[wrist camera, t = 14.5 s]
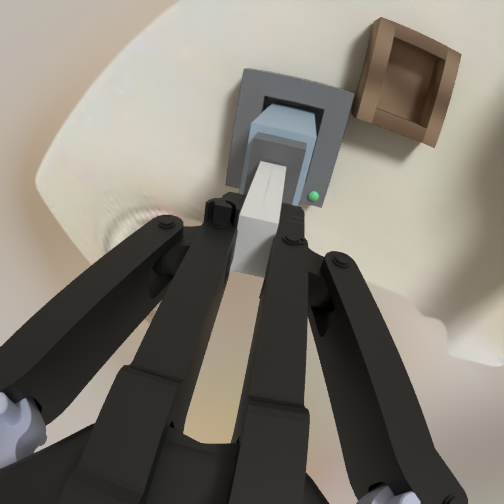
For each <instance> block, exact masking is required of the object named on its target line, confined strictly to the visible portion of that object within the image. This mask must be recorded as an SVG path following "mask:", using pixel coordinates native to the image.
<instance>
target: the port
mask: <svg viewBox="0 0 504 504" xmlns="http://www.w3.org/2000/svg"><path fill="white" fill-rule="evenodd" d="M353 98H354V93H352V92H350V91H347V90H344V89H340V88H337V87H333V86H330V85H326V84H322V83H318V82H314V81H310V80H306V79H302V78H297V77H293V76H288V75H283V74H278V73H273V72H268V71H262V70H256V69H250V68H247V69H244V71H243V77H242V83H241V88H240V94H239V100H238V106H237V112H236V118H235V124H234V131H233V137H232V144H231V150H230V157H229V163H228V170H227V177H226V184H225V185H226V186H231V187H236V188H240V186H241V180H242V174H243V168H244V162H245V157H246V151H247V145H248V139H249V134H250V128H251V123H252V122H253V121H254V120H255V119H256V118H257V117H258V116H259V115H260V114H261V113H262V112H263V111H264V110H266V109H267V108H268V107H269V106H270V105H271V104H272V103H273V102H277V103H282V104H287V105H291V106H295V107H300V108H304V109H308V110H312V111H314V115H315V125H316V137H317V138H316V142H315V146H314V150H313V153H312V157H311V161H310V165H309V169H308V172H307V176H306V180H305V183H304V187H303V191H302V194H301V198H300V202H301V203H305V204H309V205H313V206H317V207H321V208H322V205H323V202H324V199H325V195H326V192H327V189H328V186H329V182H330V179H331V176H332V173H333V169H334V166H335V162H336V159H337V156H338V152H339V149H340V145H341V142H342V138H343V135H344V131H345V128H346V124H347V120H348V117H349V113H350V109H351V105H352V102H353Z"/></svg>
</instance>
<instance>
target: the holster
mask: <svg viewBox="0 0 504 504" xmlns="http://www.w3.org/2000/svg"><path fill="white" fill-rule="evenodd" d="M460 59H461V54H460V53H458V52H456V51H455V50H453V49H451V48H449V47H447V46H445V45H443V44H442V43H440V42H438V41H436V40H434V39H432V38H429V37H427V36H425V35H423V34H421V33H419V32H417V31H414V30H412V29H410V28H407V27H405V26H403V25H400V24H398V23H395V22H393V21H390V20H388V19H385V18H382V17H380V18H379V19H377V20H375V21H374V23H373V27H372V32H371V37H370V41H369V46H368V50H367V54H366V58H365V63H364V67H363V71H362V75H361V79H360V83H359V87H358V91H357V95H356V99H355V102H354V106H353V110H352V115H353V116H354V117H355V118H356V119H359V120H362V121H365V122H368V123H371V124H374V125H377V126H380V127H383V128H385V129H388V130H391V131H394V132H396V133H399V134H402V135H404V136H407V137H409V138H412V139H414V140H417V141H419V142H422V143H424V144H426V145H429V146H431V147H433V148H435V146H436V143H437V140H438V137H439V134H440V131H441V128H442V125H443V122H444V119H445V116H446V112H447V109H448V106H449V102H450V99H451V95H452V91H453V88H454V84H455V80H456V76H457V72H458V68H459V63H460Z"/></svg>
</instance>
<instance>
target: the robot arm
mask: <svg viewBox="0 0 504 504" xmlns="http://www.w3.org/2000/svg"><path fill="white" fill-rule="evenodd" d="M285 174H286V167H285V166H281V165H277V164H272V163H267V162H263V161H260V164H259V166H258V169H257V171H256V174H255V176H254V179H253V181H252V184H251V186H250V189H249V192H248V194H247V195H243V194H238V193H233V192H228V193H227V194H225V195H223V197H222V198H213V199H210V200H208V201H207V202H206V206H205V216H204V222H203V224H202V225H201V226H194V227H184V226H183V221H182V220H181V219H180V218H178V217H176V216H173V215H161V216H157V217H155V218H153V219H152V220H150V221H149V222H148V223H146V224H145V225H144V226H142V227H141V228H140V229H138V230H137V231H135V232H134V233H133V234H131V235H130V236H129V237H127V238H126V239H125V240H123V241H122V242H121V243H120V244H118V245H117V246H116V247H114V248H113V249H112V250H110V251H109V252H108V253H107V254H105V255H104V256H103V257H102V258H100V259H99V260H98V261H96V262H95V263H94V264H93V265H91V266H90V267H89V268H88V269H87V270H85V271H84V272H83V273H82V274H80V275H79V276H78V277H77V278H76V279H75V280H73V281H72V282H71V283H70V284H69V285H67V286H66V287H65V288H64V289H63V290H61V291H60V292H59V293H58V294H57V295H56V296H55V297H54V298H52V299H51V300H50V301H49V302H48V303H47V304H46V305H45V306H44V307H42V308H41V309H40V310H39V311H38V312H37V313H36V314H34V316H32V317H31V318H30V319H29V320H28V321H27V322H26V323H25V324H24V325H23V326H22V327H21V328H20V329H19V330H17V331H16V332H15V333H14V334H13V336H11V337H10V338H9V339H8V340H7V341H6V342H5V343H4V344H3V345H2V346H1V347H0V504H329V502H328V501H327V500H326V498H325V497H324V495H323V494H322V493H321V491H320V490H319V489H318V487H317V485H316V484H315V483H314V481H313V480H312V479H311V477H310V476H309V475H308V474H307V473H306V463H307V451H308V438H309V424H310V419H309V418H310V415H309V411H308V409H307V408H305V406H304V389H305V372H306V350H307V319H309V322H310V326H311V330H312V333H313V337H314V340H315V344H316V348H317V352H318V355H319V359H320V363H321V367H322V371H323V375H324V378H325V382H326V386H327V390H328V394H329V398H330V402H331V406H332V410H333V414H334V419H335V423H336V427H337V431H338V435H339V439H340V444H341V448H342V453H343V457H344V461H345V466H346V470H347V474H348V477H349V481H350V484H351V486H352V489H353V491H354V493H355V496H356V497H357V499H358V502H357V503H356V504H468V498H467V495H466V493H465V491H464V490H463V488H462V487H461V485H460V484H459V483H458V481H457V479H456V478H455V477H454V475H453V474H452V472H451V471H450V469H449V468H448V466H447V465H446V464H445V462H444V461H443V459H442V458H441V456H439V454H438V452H437V451H436V449H435V448H434V444H433V441H432V438H431V435H430V432H429V429H428V427H427V424H426V421H425V418H424V415H423V413H422V410H421V407H420V405H419V402H418V399H417V396H416V394H415V391H414V389H413V386H412V384H411V381H410V379H409V376H408V374H407V371H406V369H405V367H404V364H403V362H402V359H401V357H400V355H399V352H398V350H397V348H396V346H395V344H394V341H393V339H392V337H391V335H390V332H389V330H388V328H387V325H386V323H385V321H384V319H383V317H382V315H381V313H380V310H379V308H378V307H377V304H376V302H375V300H374V299H373V296H372V294H371V292H370V290H369V288H368V286H367V284H366V282H365V280H364V278H363V276H362V274H361V272H360V270H359V268H358V266H357V264H356V263H355V261H354V260H353V259H352V258H351V257H349V256H348V255H347V254H344V253H342V252H337V251H331V252H328V253H327V254H326V255H325V257H323V256H321V255H319V254H317V253H315V252H313V251H312V250H310V249H309V248H308V242H307V240H306V239H305V238H304V211H303V210H302V209H301V207H299V206H295V205H291V204H286V203H282V196H283V189H284V181H285ZM230 267H231V270H233V271H237V272H241V273H246V274H250V275H254V276H259V277H264V282H263V286H262V289H261V293H260V297H259V298H260V302H259V307H258V313H257V318H256V323H255V328H254V334H253V339H252V344H251V349H250V354H249V359H248V365H247V370H246V374H245V379H244V385H243V389H242V394H241V400H240V404H239V409H238V414H237V419H236V424H235V428H234V433H233V436H232V440H231V443H229V444H204V443H200V442H198V441H196V440H194V439H192V438H190V437H188V436H186V435H184V434H183V431H184V424H185V420H186V415H187V412H188V409H189V405H190V402H191V399H192V395H193V392H194V389H195V385H196V382H197V378H198V375H199V372H200V368H201V365H202V362H203V359H204V355H205V352H206V349H207V345H208V342H209V339H210V336H211V332H212V329H213V326H214V323H215V319H216V316H217V313H218V310H219V306H220V303H221V300H222V297H223V294H224V290H225V287H226V284H227V281H228V277H229V271H230ZM161 300H162V301H161ZM160 301H161V303H160V305H159V307H158V309H157V311H156V313H155V315H154V317H153V319H152V322H151V324H150V326H149V328H148V330H147V332H146V334H145V336H144V338H143V340H142V342H141V345H140V347H139V349H138V351H137V353H136V355H135V357H134V360H133V361H132V363H131V364H130V365H124V366H123V367H122V368H121V369H120V371H119V372H118V374H117V376H116V378H115V380H114V382H113V384H112V386H111V389H110V391H109V393H108V395H107V397H106V400H105V402H104V404H103V406H102V409H101V411H100V413H99V416H98V418H97V421H96V423H94V424H91V425H90V426H87V427H86V428H84V429H82V430H80V431H78V432H76V433H74V434H72V435H70V436H68V437H66V438H64V439H62V440H61V441H58V442H57V443H55V444H52V445H51V446H49V447H46V448H44V449H42V450H40V451H38V452H36V453H34V451H35V449H36V448H37V447H38V446H42V445H44V444H45V442H46V439H47V436H46V425H47V424H49V423H51V422H52V421H53V420H54V419H55V418H57V417H58V416H59V415H60V414H62V412H63V411H64V410H65V409H66V408H67V407H68V406H69V405H70V404H71V403H72V402H73V400H74V399H75V398H76V397H77V396H78V394H79V393H80V392H81V391H82V390H83V388H84V387H85V386H86V385H87V384H88V383H89V381H90V380H91V379H92V378H93V377H94V376H95V374H96V373H97V372H98V371H99V370H100V369H101V367H102V366H103V365H104V364H105V363H106V362H107V361H108V359H109V358H110V357H111V356H112V355H113V354H114V353H115V351H116V350H117V349H118V348H119V347H120V346H121V345H122V343H123V342H124V341H125V340H126V339H127V338H128V337H129V335H130V334H131V333H132V332H133V331H134V330H135V329H136V328H137V327H138V325H139V324H140V323H141V322H142V321H143V320H144V319H145V318H146V317H147V315H148V314H149V313H150V312H151V311H152V310H153V309H154V308H155V307H156V305H157V304H158V303H159V302H160ZM33 453H34V454H33Z"/></svg>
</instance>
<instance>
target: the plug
mask: <svg viewBox="0 0 504 504" xmlns="http://www.w3.org/2000/svg"><path fill="white" fill-rule="evenodd" d="M316 138H317V137H316V125H315V115H314V111H312V110H308V109H304V108H300V107H295V106H291V105H287V104H282V103H277V102H273V103H272V104H271V105H270V106H269V107H268V108H267V109H266V110H264V111H263V112H262V113H261V114H260V115H259V116H258V117H257V118H256V119H255V120H254V121H253V122H252V123H251V128H250V134H249V139H248V145H247V151H246V157H245V162H244V168H243V174H242V180H241V186H240V192H239V194H243V195H247V194H248V192H249V189H250V186H251V184H252V181H253V179H254V176H255V174H256V171H257V169H258V166H259V164H260V161H263V162H267V163H272V164H277V165H281V166H285V167H286V174H285V181H284V189H283V196H282V203H286V204H291V205H295V206H298V205H299V202H300V198H301V194H302V191H303V187H304V183H305V180H306V176H307V172H308V169H309V165H310V161H311V157H312V153H313V150H314V146H315V142H316Z"/></svg>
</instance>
